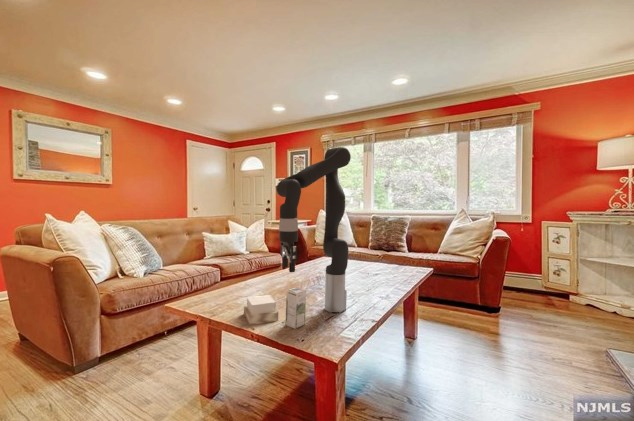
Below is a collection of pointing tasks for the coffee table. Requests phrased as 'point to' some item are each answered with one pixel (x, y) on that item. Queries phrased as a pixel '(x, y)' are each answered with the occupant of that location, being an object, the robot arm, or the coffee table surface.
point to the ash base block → (260, 317)
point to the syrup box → (295, 307)
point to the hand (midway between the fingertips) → (288, 269)
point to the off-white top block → (261, 304)
